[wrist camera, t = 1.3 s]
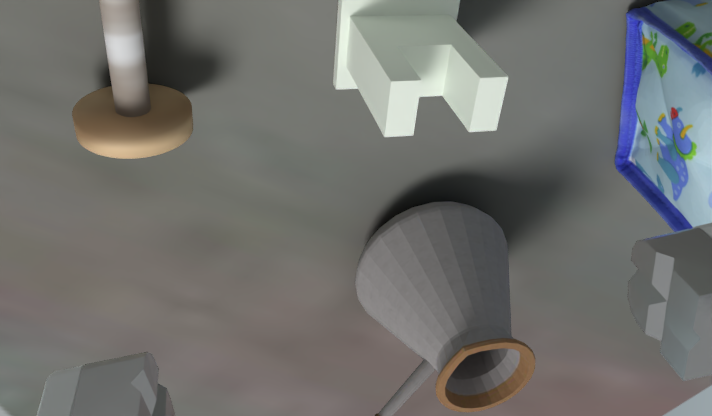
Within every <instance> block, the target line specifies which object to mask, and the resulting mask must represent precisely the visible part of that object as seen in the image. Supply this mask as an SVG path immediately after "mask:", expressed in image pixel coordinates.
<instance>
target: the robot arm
mask: <svg viewBox="0 0 712 416" xmlns="http://www.w3.org/2000/svg"><path fill="white" fill-rule="evenodd" d="M631 261H632V262H633V263H634V265H635V266H636V267H637V268H638V270H637V271H636V272H635V274H634V275H633V276H632V277H631V279H630V280H629V282H628V296H627V297H628V301H629V305H630V309H631V313H632V315H633V317H634V319H635V321H636V323H637V324H638V325H639V327H640V328H641V329H642V331H643V332H644V333H645V334H647V335H649V336H651V337H653V338H656V339H658V340H660V341H661V347H660V353H661V354H662V356H663V357H664V358H665V359H666V360H667V362H668V363H669V364H670V365H671V367H672V368H673V369H674V370H675V371H676V373H677V374H678V375H679V376H680V378H681V379H682V380H683V381H686V380H691V379H695V378H700V377H704V376H709V375H712V223H708V224H704V225H700V226H696V227H693V228H691V229H685V230H681V231H677V232H673V233H668V234H664V235H660V236H656V237H651V238H647V239H643V240H638V241H636V243H635V245H634V247H633V249H632V256H631ZM158 371H159V368H158V366H157V364H156V362H155V359H154V357H153V355H152V354H151V353H149V352H144V353H139V354H134V355H129V356H124V357H119V358H114V359H109V360H104V361H99V362H94V363H90V364H85V365H84V366H78V367H73V368H68V369H63V370H58V371H53V372H52V373H51V375H50V376H49V377H48V378H47V380H46V384H45V387H44V391H43V395H42V398H41V402H40V406H39V409H38V413H37V416H175V413H174V409H173V405H172V401H171V398H170V395H169V393H168V390H167V388H165V387H164V386H162V385H160V384H158Z"/></svg>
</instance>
